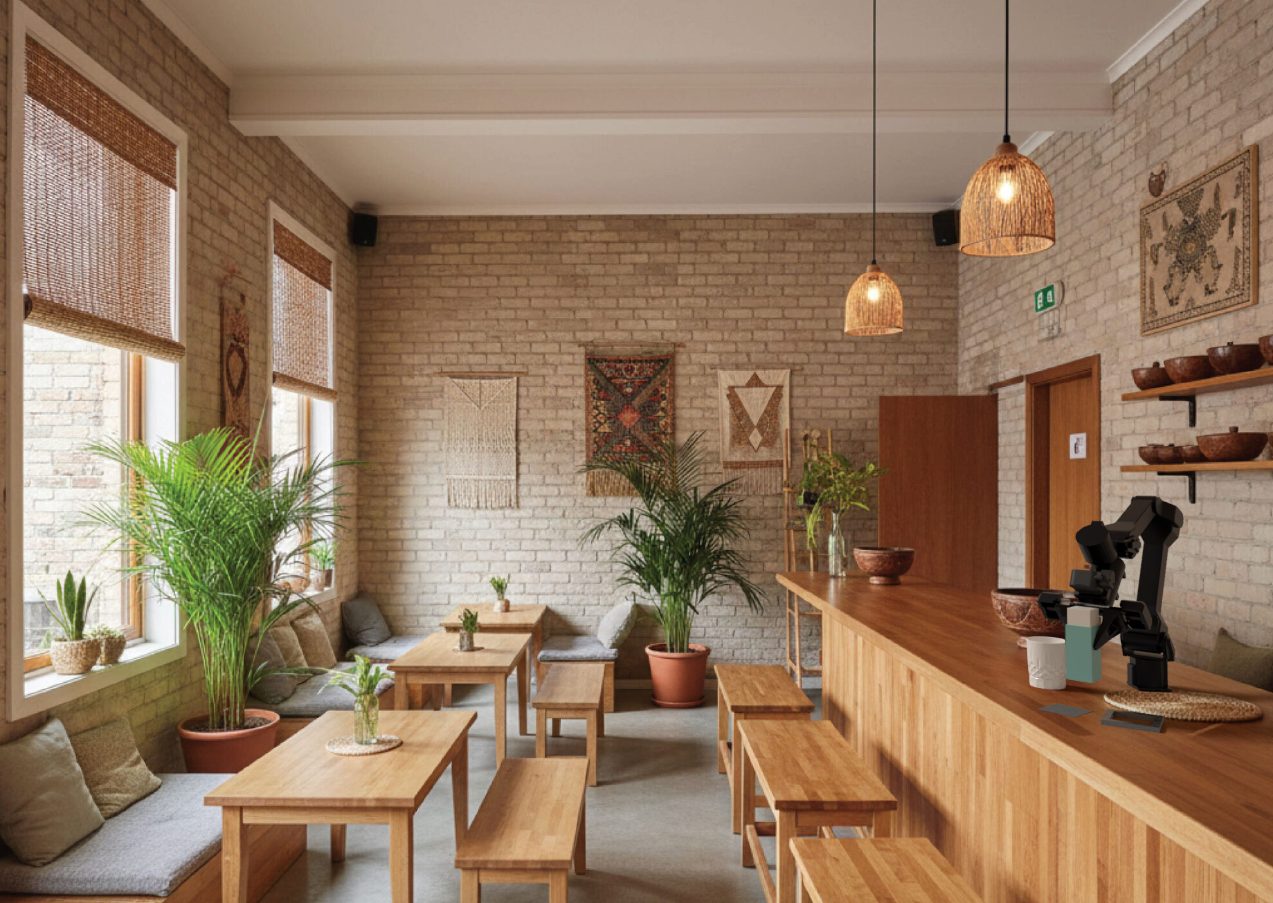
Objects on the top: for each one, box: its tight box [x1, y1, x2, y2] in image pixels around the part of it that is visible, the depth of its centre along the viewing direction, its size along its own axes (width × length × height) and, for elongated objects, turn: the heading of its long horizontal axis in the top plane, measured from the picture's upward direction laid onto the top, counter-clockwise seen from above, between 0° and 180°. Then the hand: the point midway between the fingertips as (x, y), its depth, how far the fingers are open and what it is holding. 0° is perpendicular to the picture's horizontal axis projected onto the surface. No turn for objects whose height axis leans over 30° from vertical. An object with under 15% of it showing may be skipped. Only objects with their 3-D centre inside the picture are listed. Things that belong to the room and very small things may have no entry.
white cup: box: [1025, 635, 1067, 690], centre depth 183 cm, size 8×8×10 cm
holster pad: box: [1038, 702, 1094, 718], centre depth 164 cm, size 7×7×1 cm
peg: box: [1065, 606, 1103, 684], centre depth 161 cm, size 4×4×13 cm
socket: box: [1100, 708, 1165, 734], centre depth 156 cm, size 12×12×1 cm
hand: (1080, 647), depth 160 cm, fingers closed on peg, 4 cm apart
